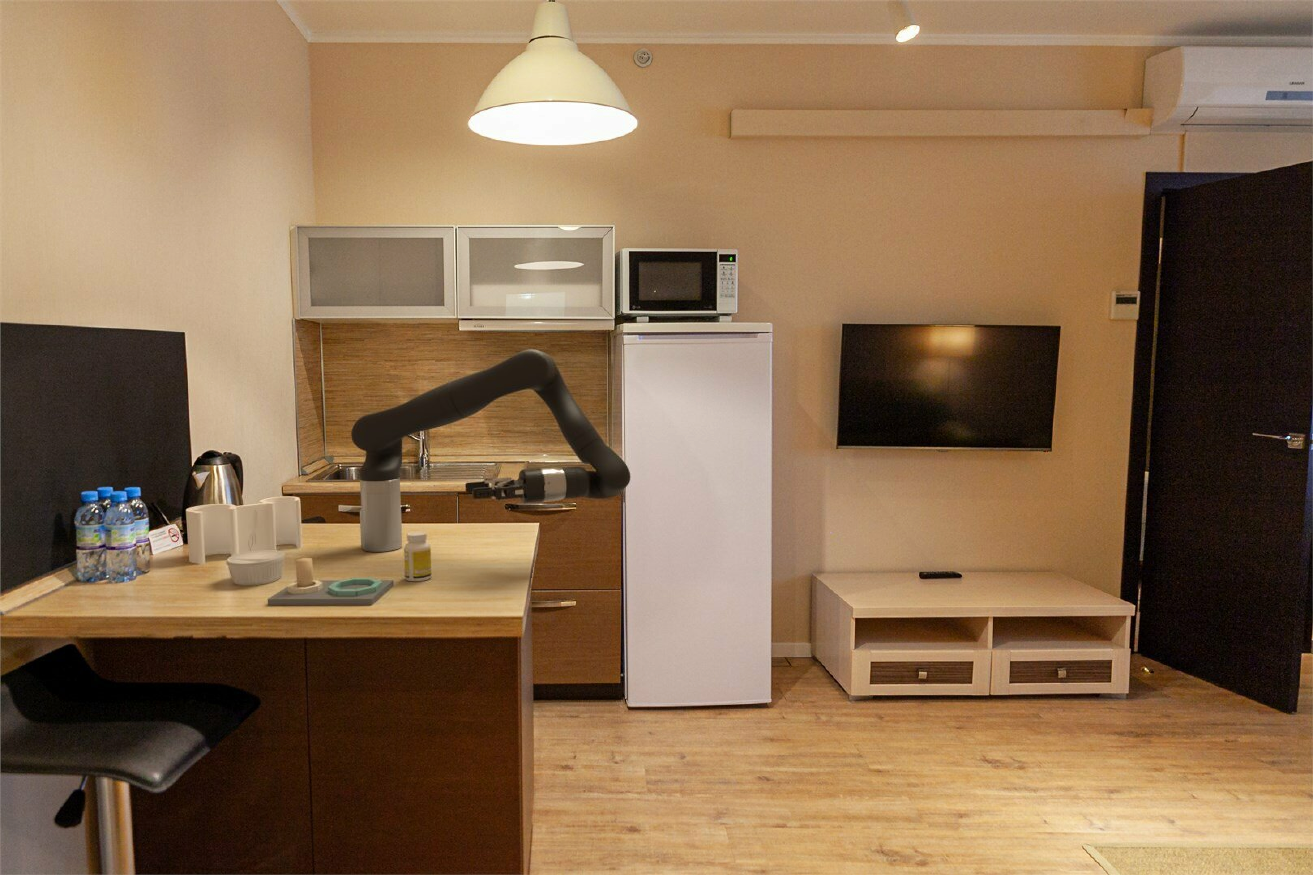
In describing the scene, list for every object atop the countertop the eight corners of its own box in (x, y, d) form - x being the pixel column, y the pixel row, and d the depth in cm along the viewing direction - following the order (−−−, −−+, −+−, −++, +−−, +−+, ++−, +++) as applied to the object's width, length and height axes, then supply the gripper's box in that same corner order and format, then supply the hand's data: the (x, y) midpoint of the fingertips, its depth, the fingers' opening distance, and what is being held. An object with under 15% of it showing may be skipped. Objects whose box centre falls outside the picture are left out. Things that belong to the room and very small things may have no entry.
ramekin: (228, 590, 172) (226, 565, 171) (227, 577, 182) (225, 553, 181) (287, 583, 177) (286, 558, 177) (284, 570, 187) (282, 547, 186)
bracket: (294, 541, 215) (291, 494, 214) (307, 548, 208) (304, 499, 207) (184, 557, 199) (181, 507, 198) (194, 565, 192) (191, 513, 191)
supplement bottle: (436, 576, 181) (435, 531, 180) (421, 583, 176) (420, 537, 175) (415, 574, 183) (413, 529, 182) (399, 580, 178) (398, 535, 177)
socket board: (267, 605, 162) (265, 568, 161) (297, 586, 174) (295, 551, 174) (372, 604, 161) (370, 568, 161) (393, 585, 174) (392, 551, 174)
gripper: (533, 464, 194) (462, 469, 188) (550, 472, 181) (474, 478, 175) (534, 496, 195) (464, 502, 189) (551, 506, 182) (475, 513, 176)
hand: (469, 490), depth 182 cm, fingers open, 8 cm apart
